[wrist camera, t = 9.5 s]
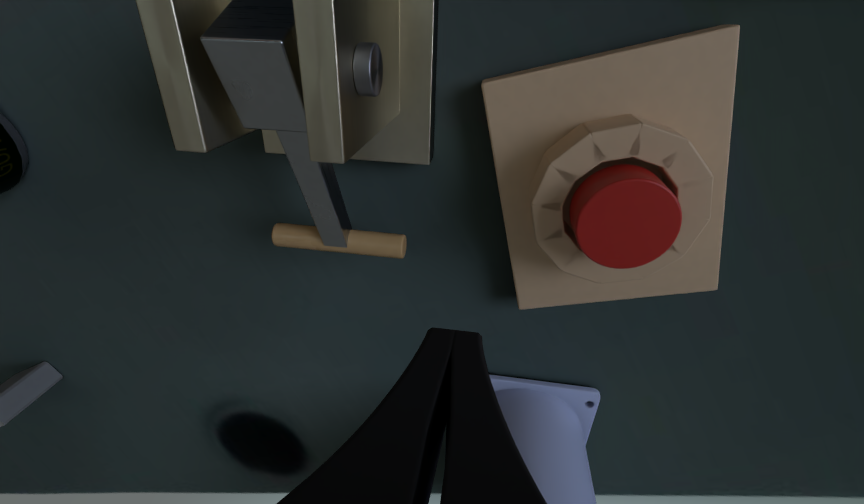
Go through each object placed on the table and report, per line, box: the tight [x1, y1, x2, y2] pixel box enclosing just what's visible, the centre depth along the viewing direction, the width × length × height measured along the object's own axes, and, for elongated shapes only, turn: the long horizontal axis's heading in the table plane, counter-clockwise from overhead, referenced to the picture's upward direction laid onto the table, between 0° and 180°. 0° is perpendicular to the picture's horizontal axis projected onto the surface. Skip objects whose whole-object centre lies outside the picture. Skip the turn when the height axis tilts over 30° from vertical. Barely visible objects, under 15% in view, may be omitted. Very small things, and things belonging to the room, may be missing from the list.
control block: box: [481, 25, 740, 309], centre depth 18 cm, size 11×9×3 cm
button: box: [569, 164, 682, 269], centre depth 16 cm, size 4×4×2 cm
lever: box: [200, 0, 406, 259], centre depth 15 cm, size 10×6×2 cm, turn 1°
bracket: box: [135, 0, 439, 165], centre depth 14 cm, size 9×8×8 cm
